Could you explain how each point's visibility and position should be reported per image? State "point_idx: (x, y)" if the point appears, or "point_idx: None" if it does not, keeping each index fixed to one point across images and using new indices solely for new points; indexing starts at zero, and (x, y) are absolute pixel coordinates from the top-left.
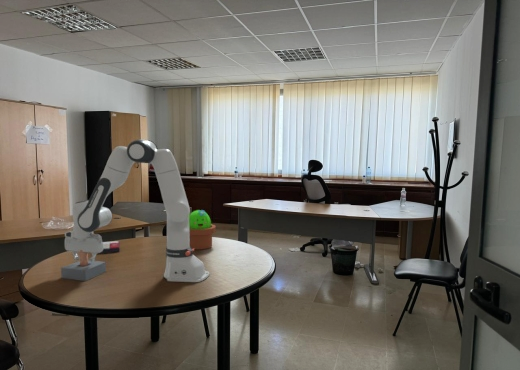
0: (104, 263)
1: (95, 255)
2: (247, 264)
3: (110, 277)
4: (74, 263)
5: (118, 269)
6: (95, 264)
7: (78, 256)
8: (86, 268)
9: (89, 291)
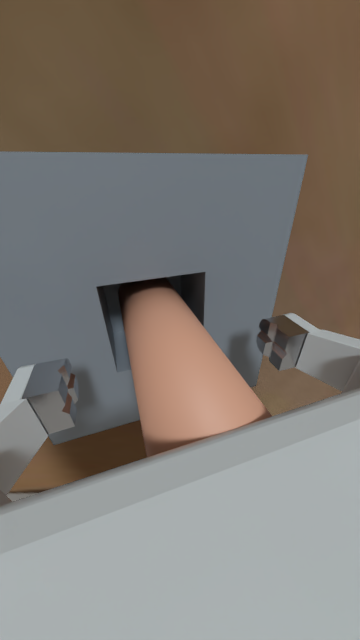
0: (293, 181)
1: (353, 347)
2: None
3: (314, 259)
4: (19, 344)
5: (317, 60)
6: (248, 272)
7: (62, 392)
8: (239, 363)
9: (293, 388)
